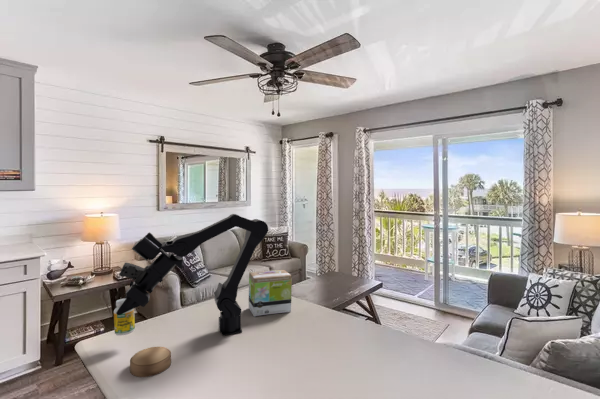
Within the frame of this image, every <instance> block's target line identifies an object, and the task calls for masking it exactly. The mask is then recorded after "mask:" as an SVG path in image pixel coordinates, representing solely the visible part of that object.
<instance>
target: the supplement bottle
mask: <svg viewBox="0 0 600 399" xmlns="http://www.w3.org/2000/svg"><path fill="white" fill-rule="evenodd" d="M125 299H126V298H125V297H124V298H120V299H117V300H116V301H115V308H114V310H113V324H114V328H113V330H114V334H115V335H116V336H126V335H129V334H131V333H133V332H135V330H136V323H135V321H136V320H135V308H134V309H131V310H129V311H127V312H125V313H123V314H121V315H117V314H116V312H117V311H118V309H119V308H120V306H121V305H122V304H123V302H124V301H125Z"/></svg>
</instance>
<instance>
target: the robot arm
mask: <svg viewBox="0 0 600 399" xmlns="http://www.w3.org/2000/svg"><path fill="white" fill-rule="evenodd" d="M235 227H236V228H239V229H241V230H244V231H245V236H244V241H243V244H242V246H241V248H240V251H239V253H238V255H237V256H236V259H235V261H234V263H233V266H232V268H231V270H230V272H229V274H228V277H227V279H226V280H225V281H224V282H223V283H221V282H218V285H217V288H216V289H215V291H214V292H213V295H214V296H213V298H214V299H213V300H214V302H215V303H214V304H215V305H216V308H217V309H218V310H219V311H220V315H219V316H218V330H219V332H220V333H221V336H229V335H234V334H235V335H236V334H240V333H242V332H243V330H242V326H241V325H242V324H241V321H242V320H241V315H242V314H241V312H242V308H241V306H240V305H239V303H238V301H237V296H238V288H239V286H240V285H239V284H240V283H241V280H242V278H243V276H244V274H245V272H246V270H247V267H248V265H249V263H250V261H251V259H252V256H253V255H254V253H255V250H256V248H257V246H259V244H261V243H262V242H263V240H264V238H265V237H266V236H267V234H268V232H269V226H268V224H267V222H266V221H264V220H261V219H257V218H253V219H248V218H246V217H242V216H240V215H239V214H236V213H232V214H229V215H228V216H227V217H224V218H222V219H221V220H217V221H216V222H214V223H212V224H210V225H208V226H206V227H204V228H202V229H200V230H197V231H195V232H190V233H185V234H183V235H179V236H176V237H175V238H173V240H168V241H163V242H161V241H160V240H159V239H158V238H156V237H155V236H154V234H152V233H151V232H148V233H147V234H146V235H145V236H143V237H142V238H140V239H139V240H138V241H137V243H135V245H133V246H132V247H131V250H132V251H133V252H135V253H136V254H138V255H139V256H140V257H141V258H143V259H144V260H145V261H146V262H147V261H152V262H151V264H148V265H146V266H145V267H141V266H139V265H136V264H133V263H130V262H124V264H123V266H122V268H121V270H120V272H119V275H118V276H120V277H122V278H124V277H125V278H128V279H132V280H130V282H129V288H128V289H126V292H125V296H124V298H126V299H125V301H124V302H123V304H122V305H121V306H120V308H119V309H118V311H117V312H116V314H117V315H121V314H123V313H125V312H127V311H129V310H131V309H134V310H135V309H136V308H137V307H138V308H139V307H141V308H145V306H146V305H147V304H148V303H149V302H150V294H151V293H152V292H153V291H154V289H155V287H157V286H158V285H159V284H161V283H162V282H163V281H164V278H165V277H166V276H167V275H168V274H169V273H170V272H171V271H172V270H173V269H174V268H175V267H176V266H177V267H178V268H179V269H183V262H184V260H183V257H186V256H187V255H189V254H191V253H192V252H194V251H195V250H197V248H199V247H200V245H202V244H203V243H205V242H207V241H209V240H211V239H214V238H215V237H217V236H219V235H221V234H223V233H226V232H227V231H229V230H231V229H233V228H235ZM158 255H159V256H158ZM154 259H155V260H154Z"/></svg>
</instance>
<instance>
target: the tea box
mask: <svg viewBox="0 0 600 399" xmlns="http://www.w3.org/2000/svg"><path fill="white" fill-rule="evenodd" d="M292 280H293V277H292V274H291V273H289V272H288V271H286V270H285V269H279V270H278V269H276V270H264V271H263V270H262V271H251V272H249V273H248V309H249V311H250V312H251V314H252V315H253V317H258V316H259V317H260V316H265V315H274V314H275V315H276V314H281V313H282V314H283V313H291V312H292V286H293V284H292Z"/></svg>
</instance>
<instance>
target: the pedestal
mask: <svg viewBox="0 0 600 399" xmlns="http://www.w3.org/2000/svg"><path fill="white" fill-rule="evenodd" d="M171 364H172V352H171V350H170V349H169V348H167V347H165V346H151V347H147V348H144V349H142V350H139V351H137V352H136V353H134V354H133V355H132V356H131V357H130V360H129V371H130V372H129V373H130V374H131V375H132V376H134V377H137V378H146V377H147V378H148V377H152V376H157V375H158V374H161V373H163V372H165V371H166V370H167V369H169V368H170V366H171Z"/></svg>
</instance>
